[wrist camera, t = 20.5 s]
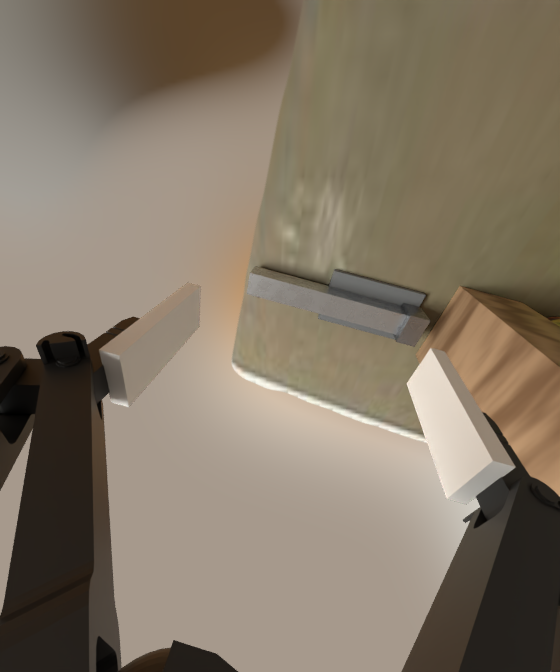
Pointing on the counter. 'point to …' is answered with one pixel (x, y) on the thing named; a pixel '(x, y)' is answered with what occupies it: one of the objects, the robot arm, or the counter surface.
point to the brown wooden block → (507, 372)
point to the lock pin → (340, 304)
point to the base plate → (374, 291)
